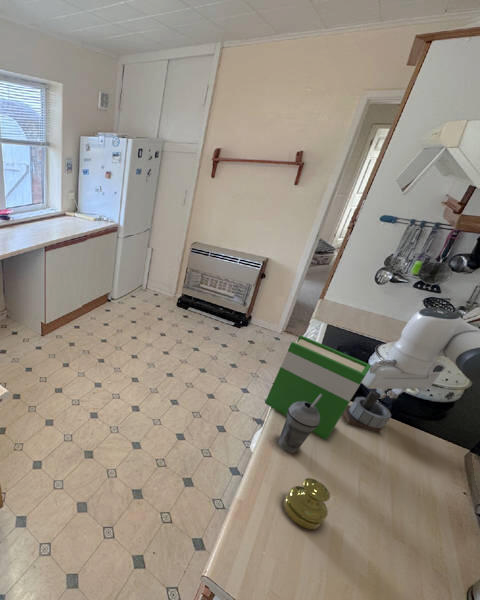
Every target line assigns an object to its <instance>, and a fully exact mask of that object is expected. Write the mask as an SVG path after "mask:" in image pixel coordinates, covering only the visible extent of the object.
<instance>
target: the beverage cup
mask: <svg viewBox="0 0 480 600" xmlns="http://www.w3.org/2000/svg"><path fill="white" fill-rule="evenodd" d="M321 397H322V394H320V395H319V396H318V398H317V399H316V400H315V401H314V403H313V404H311V403H308V402H305V401H299V402H296V403H293V404H292V405H291V406H290V407H289V408H288V412H287V416H286V418H285V421H284V424H283V427H282V430H281V433H280V434H279V435H280V436H279V438H278V439H279V440H278V445H279V446H280V448H282V449H283V450H284V451H285V452H287V453H291V454H294V453H297V451H298V450H299V449H300V448H301V447H302V445H303V443H304V442H306V440H307V438H308V437H309V436H310V434H312V431H313V430H314V429H315V428H316V427H317V426H318V425H319V421H320V414H319V411H318V410H317V408H316V407H315V406H314V405H315V404H316V403H317V402H318V400H319V399H320V398H321Z"/></svg>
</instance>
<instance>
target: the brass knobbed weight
mask: <svg viewBox="0 0 480 600" xmlns="http://www.w3.org/2000/svg"><path fill="white" fill-rule="evenodd" d="M330 498H331V493H330V491H329V489H328V488H327V487H326V486H325V484H324V483H322V482H320V481H319V480H317V479H314V478H312V477H311V478H310V477H309V478H305V479H303V481H302V486H301V485H295V486H292V487H291V488H289V492H288V493H287V494H286V496H285V498H284V500H283V507H284V510H285V513H286V514H287V516H288V517H289V518H290V519H291V520H292V521H293V522H294V523H296V524H297V525H298V526H300V527H301V528H304V529H307V530H317V529H318V528H319V527H320V525H322V524H323V522H324V520H325V519H326V518H327V516H328V508H327V504H326V503H325V502H327V501H329V500H330Z"/></svg>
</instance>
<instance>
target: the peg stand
mask: <svg viewBox="0 0 480 600" xmlns="http://www.w3.org/2000/svg"><path fill="white" fill-rule="evenodd" d="M376 391H377V390H370V391H369V392H368V394H367V396H366V397H365V398H366V399H365V400H364V402H363V403H362V405H361V406H362V407H363V408H364V409H366V410H367V411H369V412H370V410H371V409H372V407H373V406H374V404H375V403H376V402H378V400H379V399H380V398H379V397H380V394H379V393H378V392H376ZM350 407H351V405H350V404H348V406H347V407H346V409H345V411H344V412H343V414H342V416H343V418H344V419H345V422H346V424H347V425H350V426H353V427H356V428H360V429H363V430H366V431H370V432H373V433H376V434H380V432H381V428H374V427H371V426H368V425H366V424H364V423H362V422H360V421H359V420H357V419H356V418H355V417H354V416H352V414H351V413H350V411H349V408H350Z"/></svg>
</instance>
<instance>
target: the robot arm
mask: <svg viewBox="0 0 480 600" xmlns="http://www.w3.org/2000/svg"><path fill="white" fill-rule="evenodd" d="M439 357H444V358H447V359H448V360H449V361H451V363H453V364H454V365H455V366H456V367H457V368H458V370H459V371H460V372H461V373H462V374H463V375H464V377H465V378H467V379H468V380H470V381H471V382H474V383H478V384H480V327H477V326H475V325H472V324H470V323H469V322H467V321H466V320H464V319H463V318H462V317H461V316H460V315H459V314H458V313H457V312H455V311H453V310H450V309H446V308H443V307H442V308H441V307H424V308H420V309H419V310H418V311H417V312H415V313H414V314H413V315H412V316H411V318H410V319H409V320H408V322H407V323H406V324H405V326H404V328H403V329H402V331H401V333H400V338H399V339H398V340H397V341H395V342H394V344H393V345H392V347H391V349H390V351H389V352H388V353H387V355H386V357H385V359H379V360H378V361H374V362H372V363H370V365H372V366H371V367H370V369H369V371H368V372H367V374H366V376H365V377H364V379H363V381H362V382H361V384H362V386H364V387H365V388H367V389H369V390H375V391H376V392H378V393H379V394H380V397H379V398H378V399H385V397H386V396H387V397H389V398H390V399H397V398H398V397H399V395H401V394H402V393H404V392H405V391H406V392H407V390H409V389H411V390H412V389H420V390H421V389H428V388H430V387H431V386H432V385H433V384H434V383H435V382H436V380H437V379H438V378H439V377H440V374H441V373H443V372H445V370H446V369H447V366H446V365H445V364H443V363H442V362H440V361H439V360H438V358H439ZM386 391H387V393H386Z"/></svg>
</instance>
